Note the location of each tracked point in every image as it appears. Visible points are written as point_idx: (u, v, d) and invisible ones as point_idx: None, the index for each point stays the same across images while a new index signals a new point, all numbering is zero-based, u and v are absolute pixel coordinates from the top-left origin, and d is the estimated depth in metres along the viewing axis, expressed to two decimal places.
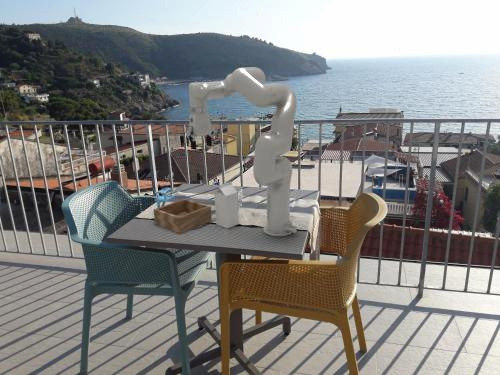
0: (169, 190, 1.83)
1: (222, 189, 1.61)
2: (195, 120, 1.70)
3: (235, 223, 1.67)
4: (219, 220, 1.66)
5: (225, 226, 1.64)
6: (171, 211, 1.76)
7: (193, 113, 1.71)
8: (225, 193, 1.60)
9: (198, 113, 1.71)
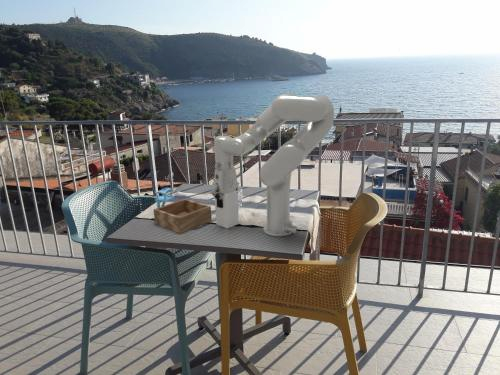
0: (169, 190, 1.83)
1: None
2: (221, 177, 1.57)
3: (235, 223, 1.67)
4: (219, 220, 1.66)
5: (225, 226, 1.64)
6: (171, 211, 1.76)
7: (219, 169, 1.58)
8: (225, 193, 1.60)
9: (224, 169, 1.57)
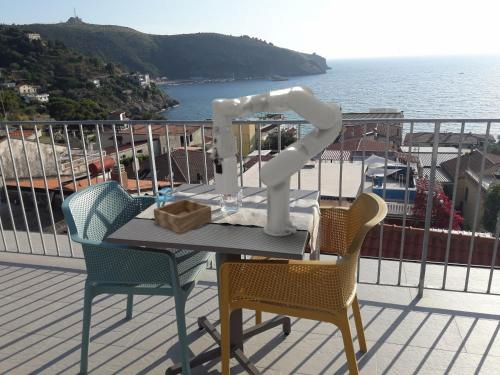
0: (169, 190, 1.83)
1: None
2: (219, 141, 1.53)
3: (235, 190, 1.62)
4: (219, 187, 1.61)
5: (224, 193, 1.60)
6: (171, 211, 1.76)
7: (217, 133, 1.54)
8: (224, 158, 1.56)
9: (223, 133, 1.53)
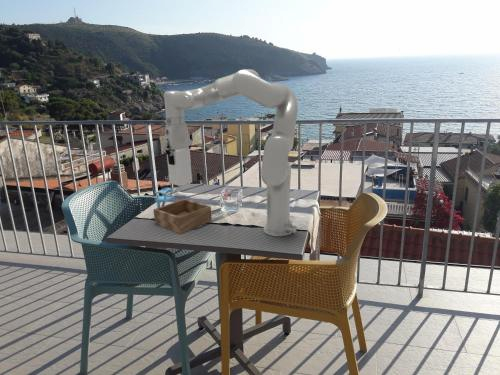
0: (169, 190, 1.83)
1: None
2: (171, 132, 1.56)
3: (188, 181, 1.66)
4: (172, 178, 1.65)
5: (177, 183, 1.63)
6: (171, 211, 1.76)
7: (169, 124, 1.57)
8: (176, 149, 1.59)
9: (174, 124, 1.56)
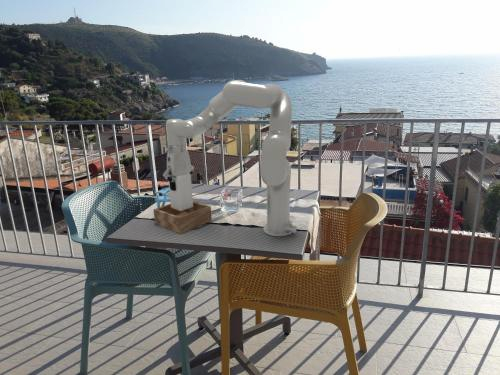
0: None
1: None
2: (172, 159, 1.59)
3: (189, 206, 1.69)
4: (173, 203, 1.68)
5: (178, 209, 1.66)
6: (171, 211, 1.76)
7: (170, 152, 1.60)
8: (177, 176, 1.62)
9: (176, 152, 1.59)
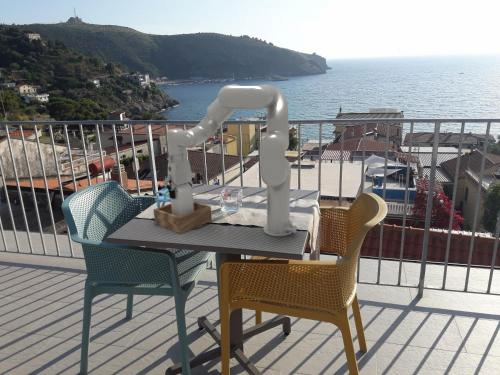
0: None
1: None
2: (173, 169, 1.60)
3: None
4: None
5: None
6: (171, 211, 1.76)
7: (171, 161, 1.61)
8: (179, 189, 1.64)
9: (177, 161, 1.61)
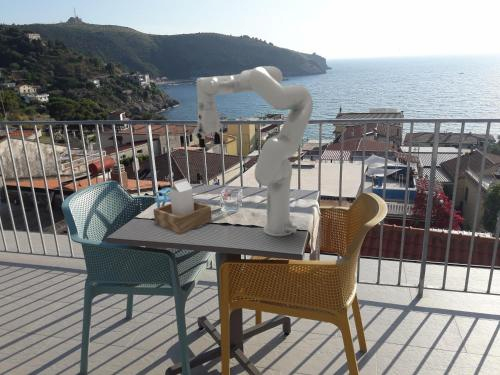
0: (169, 190, 1.83)
1: (176, 185, 1.65)
2: (204, 117, 1.63)
3: None
4: None
5: None
6: (171, 211, 1.76)
7: (201, 109, 1.63)
8: (179, 189, 1.64)
9: (207, 109, 1.63)
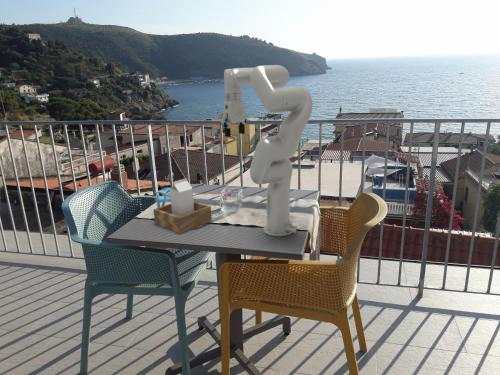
0: (169, 190, 1.83)
1: (176, 185, 1.65)
2: (230, 107, 1.69)
3: None
4: None
5: None
6: (171, 211, 1.76)
7: (228, 100, 1.69)
8: (179, 189, 1.64)
9: (233, 100, 1.69)
